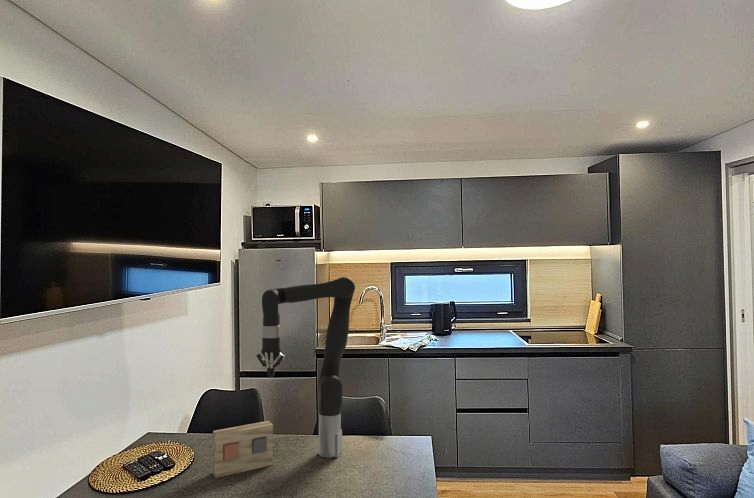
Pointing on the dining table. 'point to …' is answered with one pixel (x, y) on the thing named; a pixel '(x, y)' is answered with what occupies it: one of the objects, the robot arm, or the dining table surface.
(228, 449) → the brick red key
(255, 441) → the graphite key
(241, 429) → the key panel
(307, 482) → the dining table surface
